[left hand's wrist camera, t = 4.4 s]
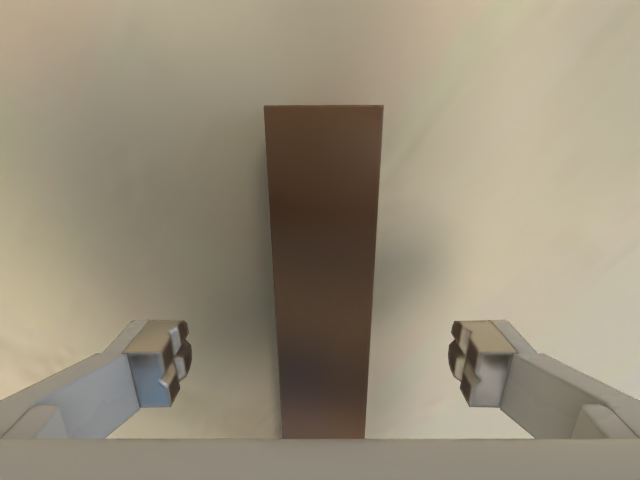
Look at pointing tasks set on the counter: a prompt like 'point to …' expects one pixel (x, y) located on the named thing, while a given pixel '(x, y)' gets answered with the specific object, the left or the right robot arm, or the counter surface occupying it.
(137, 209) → the counter surface
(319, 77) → the counter surface
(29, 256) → the counter surface
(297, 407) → the beam
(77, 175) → the counter surface
